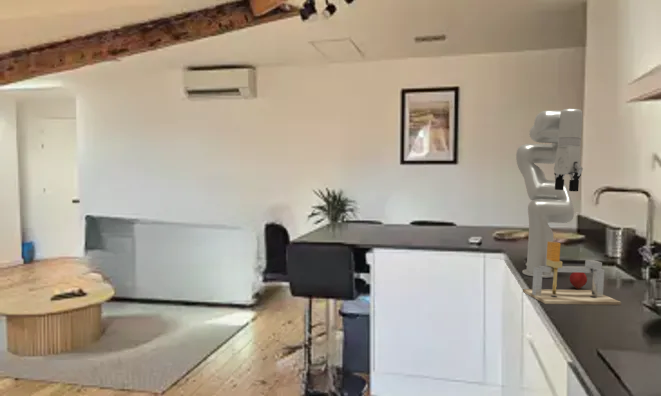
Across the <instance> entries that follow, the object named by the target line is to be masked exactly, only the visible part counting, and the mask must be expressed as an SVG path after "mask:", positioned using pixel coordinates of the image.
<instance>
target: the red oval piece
mask: <svg viewBox="0 0 661 396" xmlns="http://www.w3.org/2000/svg"><path fill="white" fill-rule="evenodd" d="M569 282H570V284H571V285H572V286H573V287H574V288H575V289H576V290H581V289H582V288H583V287H584V286H585V285H586V284H587V282H588V277H587V275H586V273H583V272H570V275H569Z"/></svg>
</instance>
